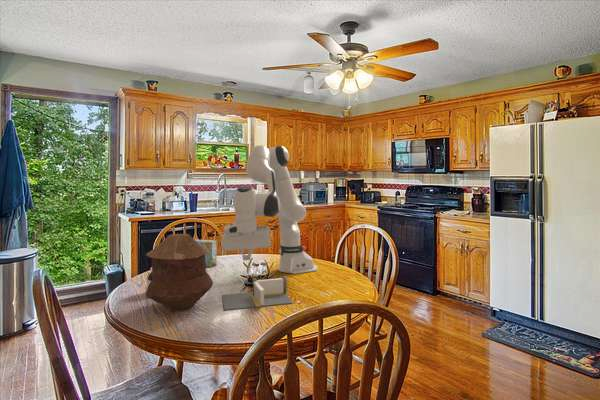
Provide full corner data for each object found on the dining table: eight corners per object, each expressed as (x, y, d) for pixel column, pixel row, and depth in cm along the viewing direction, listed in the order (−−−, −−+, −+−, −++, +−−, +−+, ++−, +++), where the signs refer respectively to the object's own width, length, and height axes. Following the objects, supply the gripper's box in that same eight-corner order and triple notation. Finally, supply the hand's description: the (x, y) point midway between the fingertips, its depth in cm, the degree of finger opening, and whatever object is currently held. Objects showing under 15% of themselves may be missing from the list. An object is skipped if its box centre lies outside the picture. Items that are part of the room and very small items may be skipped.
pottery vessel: (156, 325, 127) (153, 243, 125) (140, 304, 147) (137, 233, 145) (223, 309, 142) (221, 235, 140) (200, 292, 163) (199, 227, 160)
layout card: (282, 289, 165) (282, 288, 165) (292, 303, 148) (292, 302, 148) (222, 295, 158) (222, 294, 158) (224, 310, 140) (224, 309, 140)
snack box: (217, 265, 210) (216, 240, 209) (212, 267, 205) (211, 242, 204) (187, 262, 217) (186, 238, 216) (181, 264, 212) (180, 239, 211)
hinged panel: (253, 295, 156) (253, 281, 155) (257, 295, 156) (256, 281, 156) (260, 305, 144) (260, 290, 144) (264, 304, 145) (264, 290, 144)
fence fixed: (285, 291, 162) (285, 276, 161) (286, 293, 160) (286, 277, 159) (252, 294, 157) (252, 278, 157) (253, 296, 156) (252, 279, 155)
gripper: (268, 223, 151) (268, 255, 152) (219, 227, 144) (221, 260, 145) (272, 225, 145) (273, 258, 146) (222, 229, 138) (223, 264, 139)
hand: (246, 259), depth 145 cm, fingers closed
